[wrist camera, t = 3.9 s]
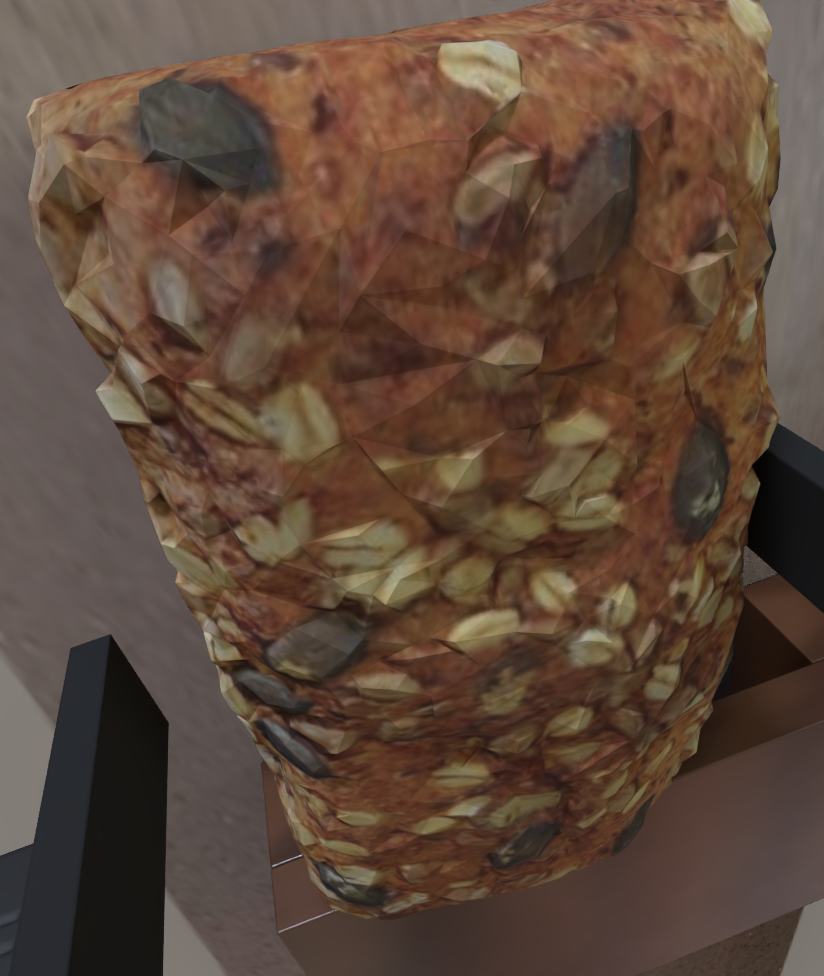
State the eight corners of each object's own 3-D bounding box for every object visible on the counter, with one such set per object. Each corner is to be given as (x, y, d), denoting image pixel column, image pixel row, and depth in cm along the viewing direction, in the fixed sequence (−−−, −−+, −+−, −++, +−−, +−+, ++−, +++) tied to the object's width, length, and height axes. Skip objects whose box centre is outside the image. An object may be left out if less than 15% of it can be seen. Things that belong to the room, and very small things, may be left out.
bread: (76, 71, 14) (-101, 96, 6) (580, -4, 15) (1026, -73, 7) (287, 701, 24) (334, 1039, 16) (576, 617, 26) (757, 885, 17)
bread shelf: (806, 563, 27) (941, 675, 22) (778, 759, 35) (875, 877, 30) (260, 761, 25) (276, 934, 20) (352, 927, 32) (381, 1083, 28)
